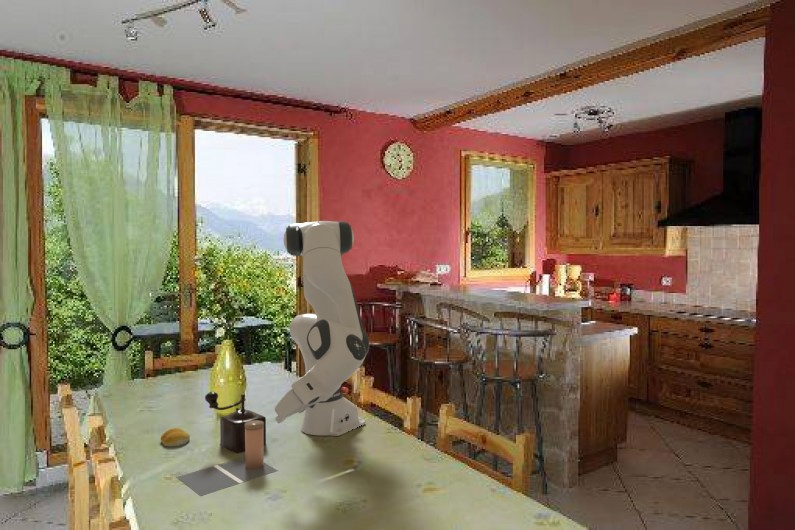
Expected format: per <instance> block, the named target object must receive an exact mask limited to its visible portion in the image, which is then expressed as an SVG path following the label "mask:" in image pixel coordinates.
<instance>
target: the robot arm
mask: <svg viewBox="0 0 795 530" xmlns="http://www.w3.org/2000/svg"><path fill="white" fill-rule="evenodd" d="M354 242H355V234H354V231H353V229H352V226H351V224H350V223H349V222H347V221H342V220H338V221H334V220H333V221H331V220H319V221H310V222H303V223H301V222H300V223H298V222H296V223H291V224H288V226H286V228H285V231H284V234H283V245H284V247H285V249H286V252H287V253H288V254H289V255H290V256H293V257H302V260H303V261H302V262H303V263H302V275H303V277H302V279H303V281H302V282H303V296H304V299H305V300H306V302H307V303H308V304H309V305H310V306H311V307H312V309H313V311H314V313H309V312H308V313H304V314H303V313H302V314H298V315H296V316H295V317H293V319H292V320H291V322H290V325H289V335H290V337H291V338H292V340H293V341H294V342H295V343H296V345H297V346H298V348H299V350H300V352H301V355H302V357H303V362H304V366H305V367H304V369H305V374H304V375H303V376H301V377H300V378H298V379H296V380H295V381H294V382H292V384H291V385H290V387H291V388H290V389H289V390H288V391H287V392H286V393H285V394H284V396H283V397H282V398H281V399H280V400H279V401H278V402H277V404H276V405H275V406H274V413H276V415H277V416H276V417H275V419H274V420H275V421H276V422H277V424H281V423H283V422H285V420H286V419H287V418H289V417H291V416H293V415H295V414H297V413H298V414H302V413H303V412H304V415H303V420H302V424H301V427H300V431H301V432H302V433H305V434H307V435H310V436H311V435H312V436H334V437H336V436H337V437H338V436H342V435H344V434H346V433H348V431H349V432H351V431H352V429H353V430H355V429H358V428H360V427H362V426H364V424H365V425H366V420H365V419H364V418H362V417H360V416H359V410H358V408H357V406H356V404H354V403H352V402H351V401H350V400H349V399H347V398H346V397H344V394H348V392H349V388H348V387H345V386H342V384H343V383H344V382H345V381H347V380H349V379H350V378H351V377H352V376H353V375H354V374H355V373H356V371H358V369H359V368H360V367H361V365H362V364H363V363H364V360H365V359H366V357H367V355H368V354H369V350H370V339H369V336H368V333H367V331H366V330H365V328H364V325H363V322H362V318H361V313H360V310H359V305H358V302H357V298H356V293H355V291H354V288H353V285H352V283H351V281H350V280H349V278H348V275H347V274H346V271H345V267H344V265H343V262H342V261H343V260H342V256H343V255H345V254H346V253H349V252H350V250H352V248H353V246H354ZM343 393H344V394H343ZM361 425H362V426H361ZM359 426H360V427H359ZM357 427H358V428H357Z"/></svg>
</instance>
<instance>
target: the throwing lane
mask: <svg viewBox="0 0 795 530" xmlns="http://www.w3.org/2000/svg"><path fill="white" fill-rule="evenodd" d="M276 472H279V471H278V469H276V468H274V467H273V466H271V465H269V464H267V463H266V462H264V465H263V467H261V468H258V469H247V468H246V467H245V456H243V457H239V458H236V459H232V460H230V461H227V462H223V463H219V464H216V465H213V466H210V467H206V468H203V469H199V470H196V471H193V472H189V473H185V474H182V475H179V476H176V477H175V478H176V479H178V480H179V481H180V482H182V484H184V485H186V486H187V487H188V488H189V489H191V490H192V491H193V492H195V494H197V495H198V496H200V497H202V496H203V497H204V496H206V495H209V494H211V493H215V492H217V491H220V490H223V489H227V488H230V487H233V486H235V485H239V484H242V483H246V482H248V481H251V480H254V479H255V480H256V479H257V478H260V477H263V476H266V475H270V474H273V473H276Z"/></svg>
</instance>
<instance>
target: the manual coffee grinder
mask: <svg viewBox="0 0 795 530" xmlns="http://www.w3.org/2000/svg"><path fill="white" fill-rule="evenodd" d="M204 399H205V402H207V403H208V404H209V405H208V408H209V409H214V410H217V411H225V410H228V409H232V408H233V407H236V406H238V405H241V409H239V407H236V408H235V411H234V412H231V413H229V414H227V415H223V416H220V417H219V419H220V421H219V422H220V425H219V427H220V435H219V436H220V440H219V441H220V443H219V447H223V448H225V449H226V450H228V451H230V452H232V453H235V454H239V453H243V452H244V453H245V423H246V422H249V421H255V420H258V421H263V422H264V446H265V445H267V432H266V431H267V428H266V427H267V426H266V425H267V424H266V422H267V419H266V416H263V415H261V414H259V413H256V412H254V411H252V410H250V409H249V410H247V409H245V402H246V394H245V393H242V394H241V395H240V400H238V401H236V402H235V403H231V404H229V405H227V406H222V407H221V406H219V403H218V399H219V394H218V393H217V392H215V391H210V392H207V394H205V396H204Z"/></svg>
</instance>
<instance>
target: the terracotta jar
mask: <svg viewBox="0 0 795 530" xmlns="http://www.w3.org/2000/svg"><path fill="white" fill-rule="evenodd" d="M264 446H265V445H264V422H263V421H258V420H255V421H249V422H246V423H245V451H244V453H245V454H244V457H245V467H246V468H247V469H258V468H261V467H263V465H264V463H265V462H264V460H265V459H264V457H265V456H264V451H265V450H264V449H265V448H264Z"/></svg>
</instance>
